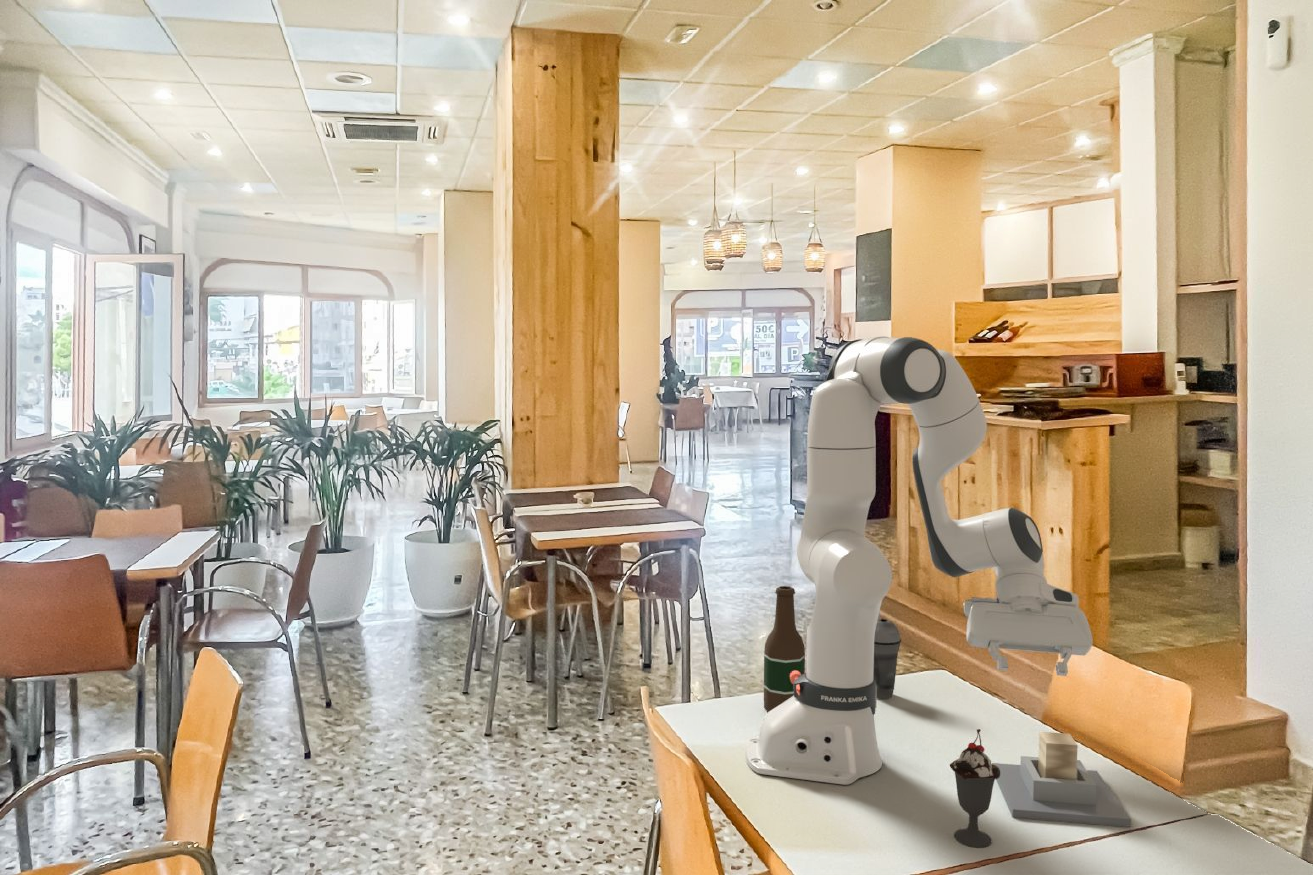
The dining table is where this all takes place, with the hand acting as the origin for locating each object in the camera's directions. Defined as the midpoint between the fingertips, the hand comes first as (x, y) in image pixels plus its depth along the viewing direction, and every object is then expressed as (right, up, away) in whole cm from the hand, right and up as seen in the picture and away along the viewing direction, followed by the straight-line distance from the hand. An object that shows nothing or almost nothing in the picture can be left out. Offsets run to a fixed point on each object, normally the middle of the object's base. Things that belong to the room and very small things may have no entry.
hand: (1032, 671), depth 151 cm
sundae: (-19, -17, -26) cm, 36 cm away
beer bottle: (-39, -13, +22) cm, 47 cm away
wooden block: (-2, -14, -14) cm, 20 cm away
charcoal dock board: (-2, -16, -14) cm, 21 cm away
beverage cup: (-18, -13, +30) cm, 37 cm away
